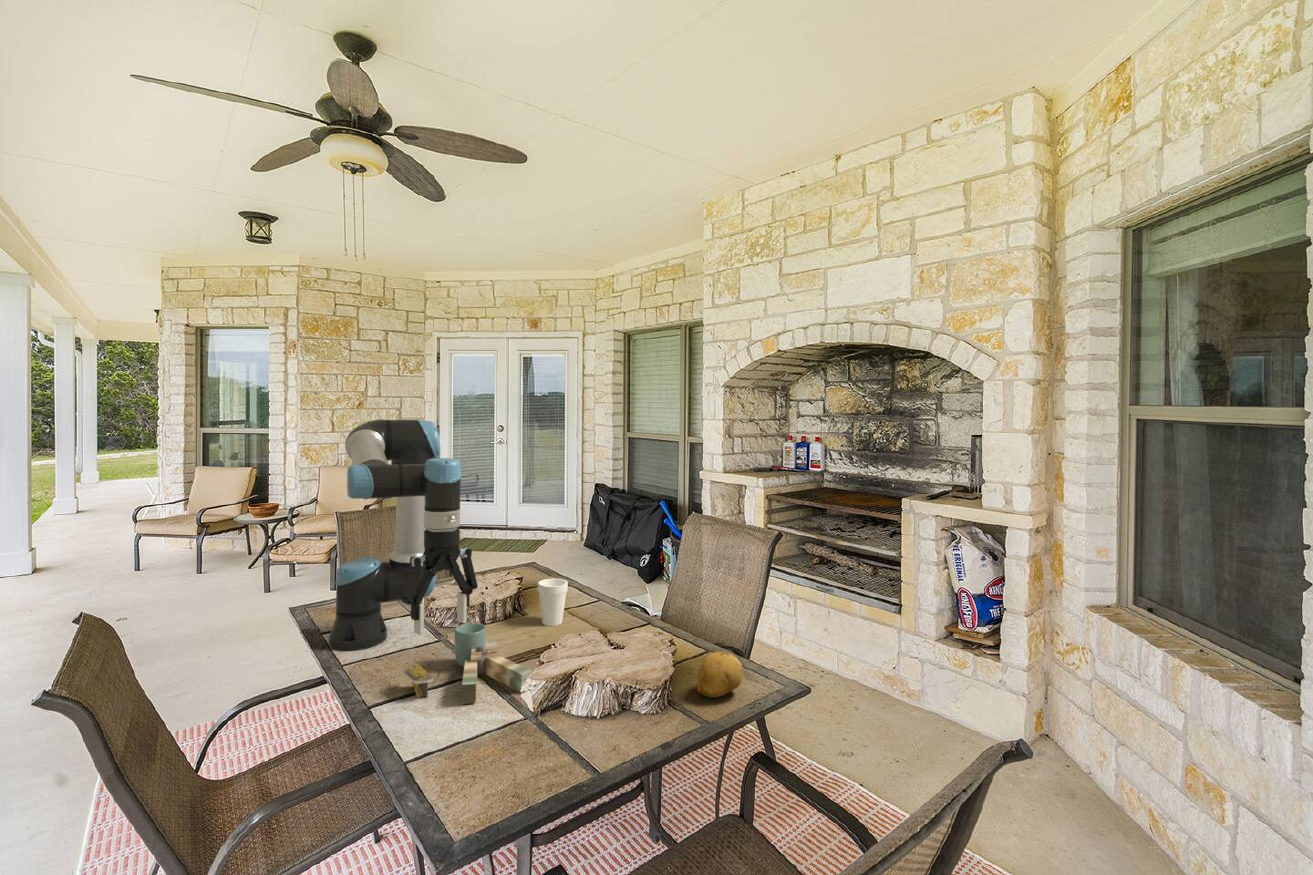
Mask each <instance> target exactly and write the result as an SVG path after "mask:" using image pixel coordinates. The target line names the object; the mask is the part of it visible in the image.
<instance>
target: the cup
mask: <svg viewBox="0 0 1313 875" xmlns="http://www.w3.org/2000/svg"><path fill="white" fill-rule="evenodd" d="M486 630H487V628H486V626H485V624H483V623H478V622H468V623H467V622H466V623H461V624H460V625H457V626H456V627H455V629H454V656H455V661H456V663H457V664H458V666H460V667H462V668H464V665H465V660H471V650H472V649H476V648H477V647H483V648H484V649H483V651H484V652H486V638H487V637H486V636H487V635H486V632H487V631H486Z"/></svg>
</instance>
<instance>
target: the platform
mask: <svg viewBox="0 0 1313 875" xmlns="http://www.w3.org/2000/svg"><path fill="white" fill-rule="evenodd" d="M403 676H404V677H406V678H408V680H410V681H411V682H412V686H413V688H414V692H415V695H416V697H417V698H419V697H425V698H426V699H428V698H429V697H428V696H429V695H428V694H429V693H428V690H429V686H428V685H429V683H431V682H433V681H434V677H432V675H430V674H429V673H428V672H427V670H426V669H424V668H423V667H422V666H420V665H419V664H418V663H417V662H415V663H414V665H408V668H407V669H406V670H404V671H403Z"/></svg>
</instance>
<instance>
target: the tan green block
mask: <svg viewBox="0 0 1313 875" xmlns="http://www.w3.org/2000/svg"><path fill="white" fill-rule="evenodd" d="M531 673H532V674H533V670H531V669H529V668H526V667H525V666H522V665H521V664H518V663H516V662H513V661H512V660H509V659H507V658H505V657H503V656H502V655H500V654H499V655H498V654H497V653H491V654H489V653H488V652H486V651H485V652H484V651H482V659H481V660H477V677H480V676H485V675H486V676H488V677H490V678H492V679H494V680H496V681H497V682H500V683H501V684H503V685H506V686H507V687H509V688H511V689H513V690H514V691H516V692H518V693H520V690H521V686H522V683H523V682H524V681H525V679H526V678H527V677H528V676H529V675H530V674H531Z"/></svg>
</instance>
